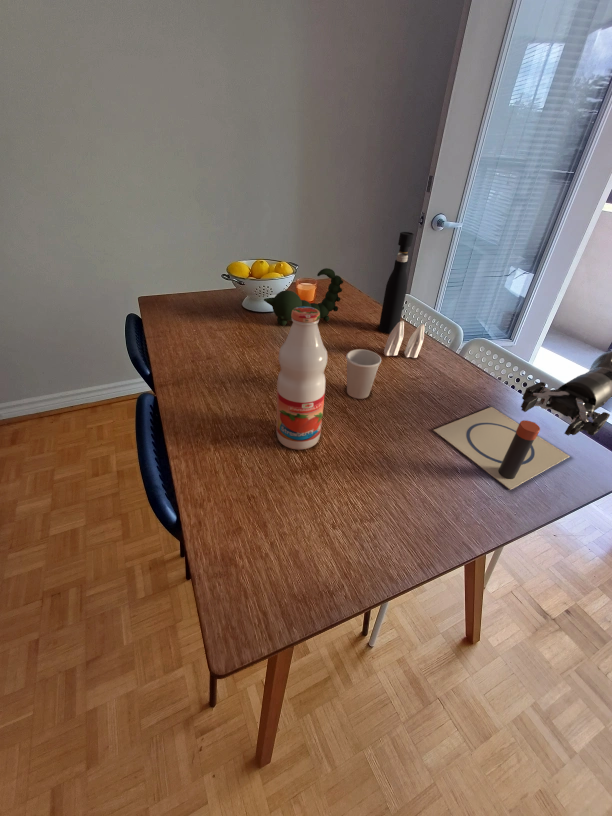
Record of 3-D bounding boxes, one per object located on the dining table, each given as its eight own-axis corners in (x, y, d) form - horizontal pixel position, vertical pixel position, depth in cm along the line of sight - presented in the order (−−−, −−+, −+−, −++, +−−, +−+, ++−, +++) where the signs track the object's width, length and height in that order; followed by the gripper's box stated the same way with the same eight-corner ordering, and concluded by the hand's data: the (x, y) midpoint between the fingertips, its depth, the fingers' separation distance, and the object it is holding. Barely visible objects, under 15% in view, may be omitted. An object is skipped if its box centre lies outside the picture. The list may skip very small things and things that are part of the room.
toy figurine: (328, 319, 140) (258, 318, 132) (338, 265, 129) (263, 259, 121) (338, 331, 132) (264, 330, 124) (349, 274, 122) (270, 269, 114)
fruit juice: (315, 421, 89) (326, 300, 73) (324, 449, 82) (339, 321, 65) (273, 424, 87) (275, 301, 71) (279, 452, 80) (282, 323, 64)
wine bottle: (399, 334, 129) (420, 236, 112) (380, 333, 129) (397, 235, 111) (396, 326, 134) (415, 231, 117) (377, 325, 134) (394, 230, 117)
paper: (569, 456, 84) (570, 455, 84) (510, 490, 75) (510, 489, 75) (491, 407, 98) (491, 406, 98) (433, 430, 89) (433, 429, 89)
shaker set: (383, 361, 114) (390, 325, 107) (378, 354, 117) (385, 318, 111) (422, 358, 116) (431, 323, 110) (415, 351, 120) (424, 317, 113)
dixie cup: (373, 404, 96) (380, 368, 90) (339, 398, 97) (344, 362, 91) (375, 386, 103) (382, 351, 97) (343, 381, 104) (348, 346, 98)
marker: (519, 476, 78) (544, 428, 71) (508, 481, 77) (532, 434, 70) (504, 465, 81) (527, 418, 74) (493, 470, 79) (516, 423, 72)
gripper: (558, 363, 85) (518, 384, 77) (632, 395, 76) (594, 422, 68) (544, 392, 90) (504, 415, 82) (612, 425, 81) (574, 455, 73)
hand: (545, 418), depth 75 cm, fingers open, 8 cm apart
